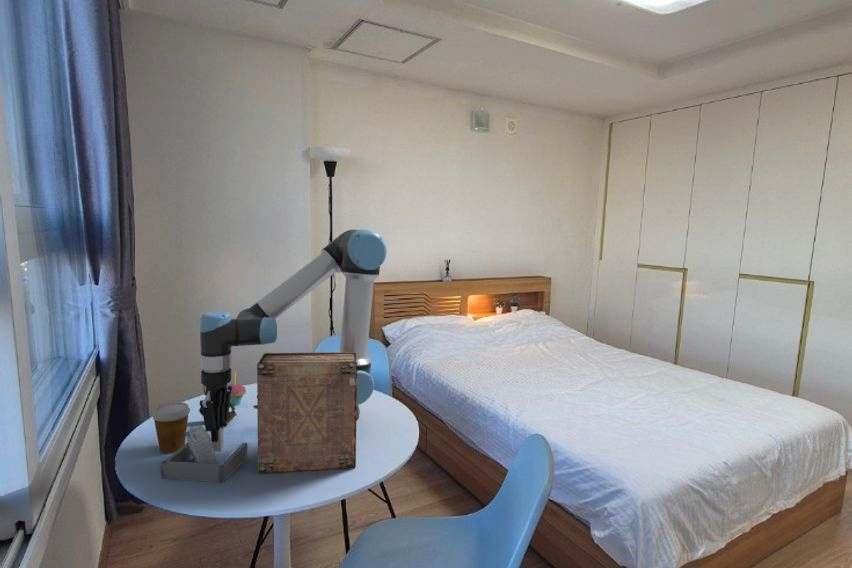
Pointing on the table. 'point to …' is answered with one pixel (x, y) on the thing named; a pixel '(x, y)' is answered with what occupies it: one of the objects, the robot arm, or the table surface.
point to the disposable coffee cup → (171, 425)
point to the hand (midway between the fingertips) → (217, 450)
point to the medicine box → (201, 446)
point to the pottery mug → (230, 414)
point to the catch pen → (201, 466)
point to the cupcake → (236, 392)
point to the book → (306, 411)
